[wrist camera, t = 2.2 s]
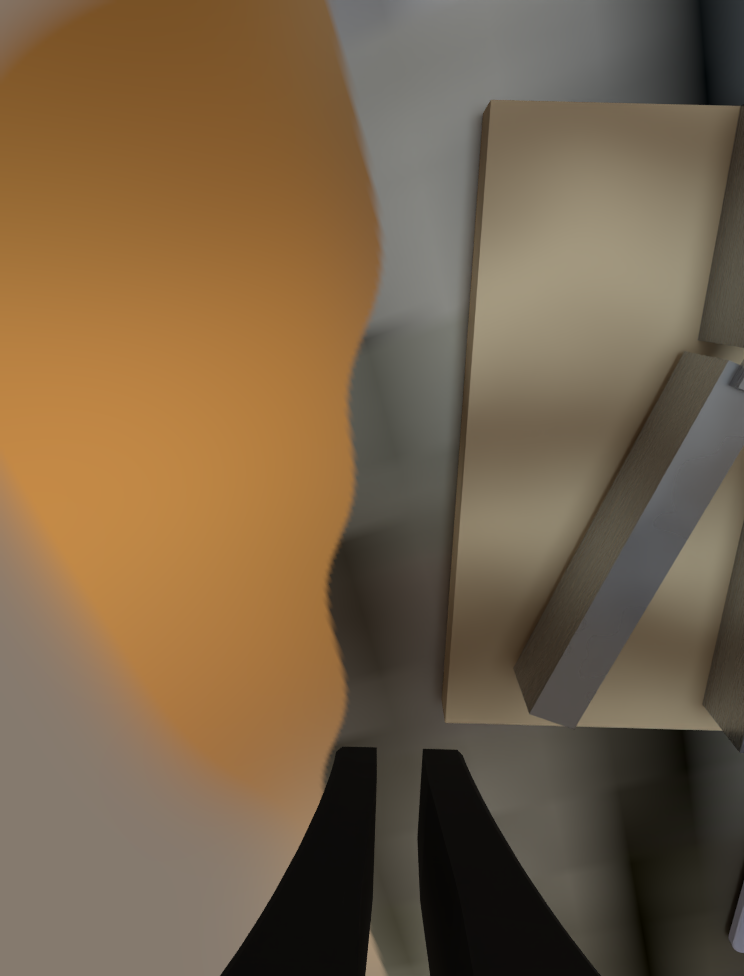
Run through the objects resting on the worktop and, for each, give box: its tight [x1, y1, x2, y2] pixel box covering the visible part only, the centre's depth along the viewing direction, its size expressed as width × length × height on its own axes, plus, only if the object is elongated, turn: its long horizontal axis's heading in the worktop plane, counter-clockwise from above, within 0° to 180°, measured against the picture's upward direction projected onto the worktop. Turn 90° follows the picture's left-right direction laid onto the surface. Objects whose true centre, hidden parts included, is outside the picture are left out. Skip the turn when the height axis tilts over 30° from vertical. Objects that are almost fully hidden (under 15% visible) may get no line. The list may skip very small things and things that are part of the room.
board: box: [442, 100, 744, 731], centre depth 18 cm, size 18×12×1 cm, turn 179°
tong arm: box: [513, 351, 744, 729], centre depth 16 cm, size 14×3×3 cm, turn 159°
